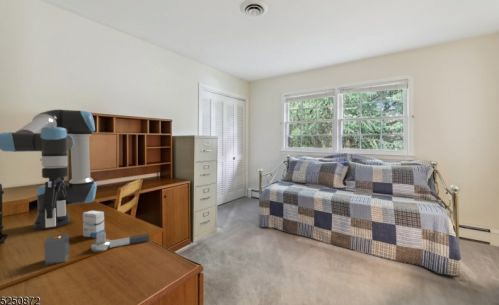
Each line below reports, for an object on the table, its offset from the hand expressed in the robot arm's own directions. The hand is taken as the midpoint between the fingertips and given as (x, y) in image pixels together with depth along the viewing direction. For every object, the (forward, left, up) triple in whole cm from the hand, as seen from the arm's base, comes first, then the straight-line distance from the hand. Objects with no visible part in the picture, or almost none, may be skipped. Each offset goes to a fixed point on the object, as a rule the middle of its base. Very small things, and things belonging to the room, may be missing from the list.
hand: (56, 221), depth 87 cm
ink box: (-22, +9, -16) cm, 29 cm away
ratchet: (-4, +22, -16) cm, 27 cm away
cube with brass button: (0, 0, -16) cm, 16 cm away
